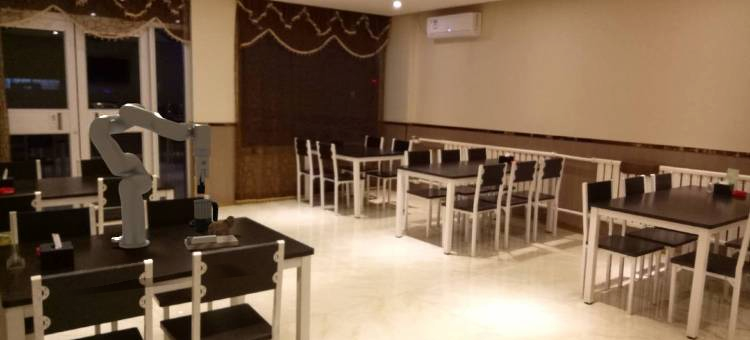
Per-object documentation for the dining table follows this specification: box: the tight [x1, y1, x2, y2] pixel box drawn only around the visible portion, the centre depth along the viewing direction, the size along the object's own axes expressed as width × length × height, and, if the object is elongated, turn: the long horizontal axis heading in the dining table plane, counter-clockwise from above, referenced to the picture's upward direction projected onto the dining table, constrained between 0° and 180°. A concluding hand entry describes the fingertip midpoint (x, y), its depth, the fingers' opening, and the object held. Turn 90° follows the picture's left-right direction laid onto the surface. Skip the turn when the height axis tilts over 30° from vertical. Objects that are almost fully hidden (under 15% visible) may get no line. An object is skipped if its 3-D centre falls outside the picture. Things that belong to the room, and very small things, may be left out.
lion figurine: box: [205, 215, 236, 236], centre depth 276 cm, size 15×5×9 cm, turn 130°
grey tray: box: [184, 234, 239, 251], centre depth 259 cm, size 22×12×4 cm, turn 116°
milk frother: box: [188, 198, 219, 232], centre depth 291 cm, size 14×16×15 cm
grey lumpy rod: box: [186, 234, 217, 244], centre depth 254 cm, size 13×3×3 cm, turn 117°
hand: (200, 193), depth 250 cm, fingers closed
